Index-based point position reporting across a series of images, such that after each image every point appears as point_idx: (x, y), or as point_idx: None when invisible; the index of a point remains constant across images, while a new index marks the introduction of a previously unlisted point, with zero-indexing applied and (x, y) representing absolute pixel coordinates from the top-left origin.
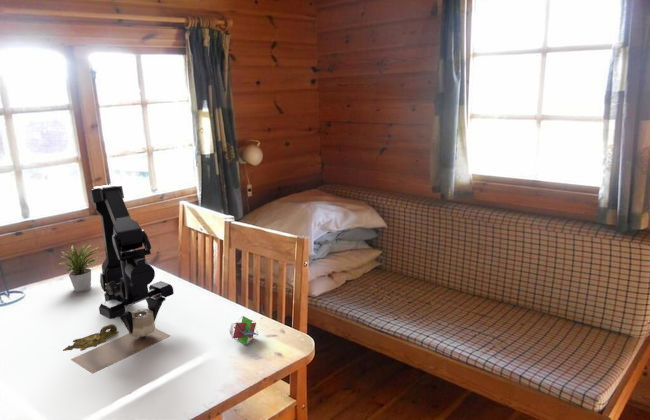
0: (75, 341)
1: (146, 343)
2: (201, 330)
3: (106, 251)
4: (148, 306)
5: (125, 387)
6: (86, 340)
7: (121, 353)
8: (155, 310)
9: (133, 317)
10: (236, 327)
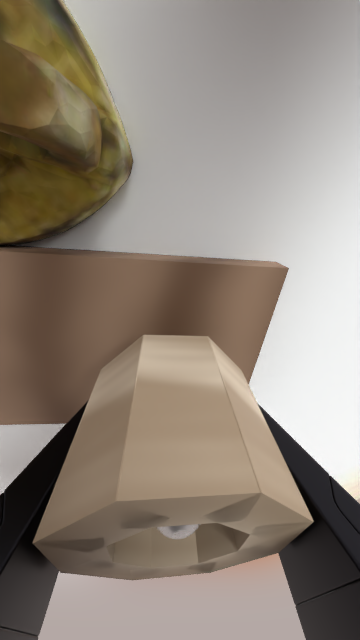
0: None
1: None
2: (313, 422)
3: None
4: (341, 555)
5: (6, 477)
6: None
7: (34, 395)
8: (285, 566)
9: (93, 559)
10: None
